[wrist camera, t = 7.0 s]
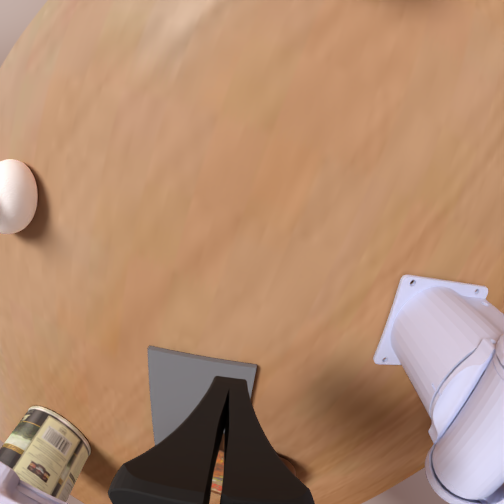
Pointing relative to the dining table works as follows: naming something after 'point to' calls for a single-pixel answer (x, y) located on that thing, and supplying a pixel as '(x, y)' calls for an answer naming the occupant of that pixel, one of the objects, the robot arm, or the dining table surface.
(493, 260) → the dining table surface
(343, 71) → the dining table surface
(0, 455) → the coffee can
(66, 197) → the dining table surface
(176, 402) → the mat
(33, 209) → the garlic bulb
